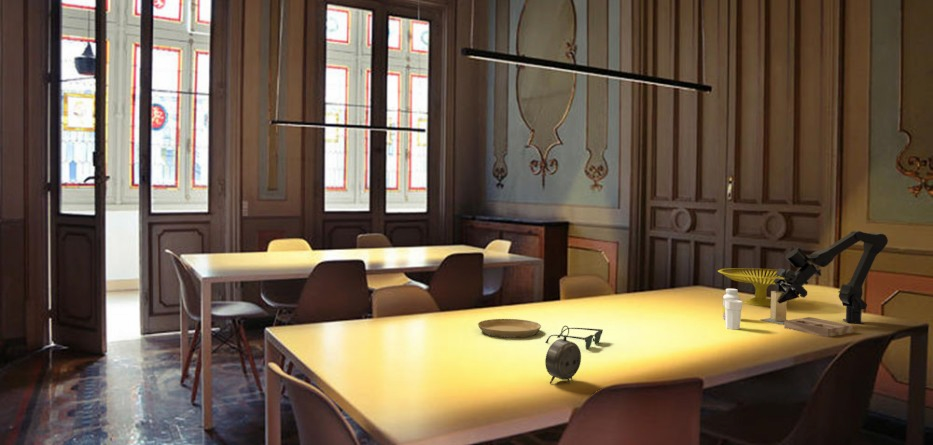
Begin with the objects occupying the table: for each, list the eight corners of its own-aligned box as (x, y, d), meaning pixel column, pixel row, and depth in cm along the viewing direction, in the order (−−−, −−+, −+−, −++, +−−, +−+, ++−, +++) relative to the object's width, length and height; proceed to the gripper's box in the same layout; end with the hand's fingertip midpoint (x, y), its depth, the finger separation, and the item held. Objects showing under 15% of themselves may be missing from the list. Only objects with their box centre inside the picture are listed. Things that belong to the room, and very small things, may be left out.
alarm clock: (570, 376, 196) (570, 321, 195) (584, 381, 191) (585, 324, 191) (543, 383, 189) (544, 326, 188) (557, 388, 185) (558, 329, 184)
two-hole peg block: (809, 324, 277) (809, 317, 277) (852, 332, 261) (853, 325, 261) (784, 328, 268) (784, 320, 268) (827, 336, 253) (828, 329, 253)
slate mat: (775, 318, 289) (775, 317, 289) (796, 322, 280) (796, 321, 280) (760, 320, 284) (760, 319, 284) (781, 324, 275) (781, 323, 275)
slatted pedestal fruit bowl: (726, 308, 310) (727, 276, 310) (709, 295, 350) (710, 266, 349) (819, 312, 304) (820, 279, 303) (791, 298, 343) (792, 269, 343)
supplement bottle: (738, 318, 288) (739, 288, 287) (739, 321, 282) (740, 290, 281) (722, 317, 290) (723, 287, 290) (722, 319, 284) (723, 289, 283)
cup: (741, 327, 269) (742, 300, 268) (741, 330, 263) (742, 302, 262) (724, 325, 272) (725, 299, 271) (723, 328, 266) (724, 301, 265)
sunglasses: (560, 336, 250) (560, 323, 250) (603, 342, 241) (604, 329, 241) (541, 345, 236) (541, 331, 236) (586, 352, 227) (586, 337, 227)
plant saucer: (507, 323, 272) (507, 315, 272) (553, 333, 255) (554, 324, 255) (464, 332, 256) (464, 323, 255) (511, 343, 238) (511, 334, 238)
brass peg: (780, 319, 284) (781, 291, 283) (786, 321, 280) (787, 293, 279) (770, 319, 284) (771, 291, 283) (775, 321, 280) (776, 293, 279)
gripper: (778, 259, 290) (752, 284, 290) (800, 264, 271) (773, 291, 272) (796, 277, 290) (770, 302, 291) (819, 283, 272) (791, 310, 272)
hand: (775, 301), depth 281 cm, fingers open, 5 cm apart
